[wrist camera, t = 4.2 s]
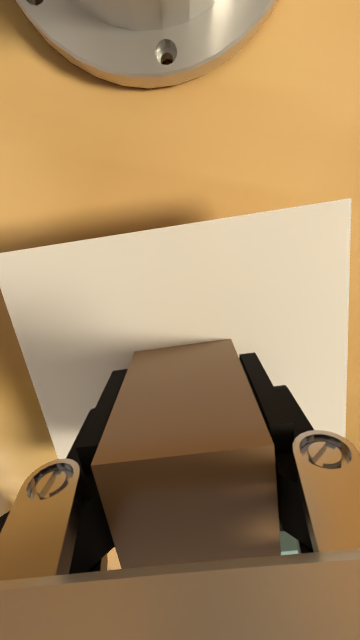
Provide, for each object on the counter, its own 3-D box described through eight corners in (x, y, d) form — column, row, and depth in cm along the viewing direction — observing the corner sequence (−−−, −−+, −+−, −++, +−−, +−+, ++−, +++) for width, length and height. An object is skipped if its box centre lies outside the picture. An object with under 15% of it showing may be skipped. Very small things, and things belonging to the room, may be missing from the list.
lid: (2, 252, 11) (-222, 288, 5) (338, 199, 10) (561, 166, 4) (83, 501, 14) (12, 697, 8) (335, 475, 14) (451, 669, 8)
